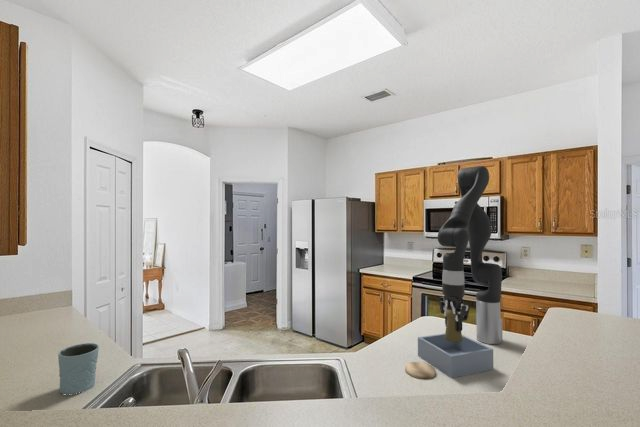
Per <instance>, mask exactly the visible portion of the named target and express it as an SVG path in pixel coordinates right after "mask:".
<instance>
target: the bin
mask: <svg viewBox="0 0 640 427" xmlns="http://www.w3.org/2000/svg"><path fill="white" fill-rule="evenodd" d="M417 356H418V357H419V358H420V359H422V360H424V361H425V362H427V364H429V365H431V366H432V367H434V368H435V369H437V370H439V372H441V373H443V374H445V375H446V376H448V377H449V378H451V379H452V378H453V379H454V378H458V377H462V376H468V375H472V374H473V375H474V374H478V373H483V372H489V371H492V370H494V349H493V348H491V347H490V346H487V345H485V344H483V343H482V342H480V341H479V342H478V340H477V341H476V340H474V339H472V338H470V337H467V336H466V335H463V334H462V342H458V343H457V342H450V341H447V340H446V339H445V333H437V334H431V335H424V336H417Z"/></svg>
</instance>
